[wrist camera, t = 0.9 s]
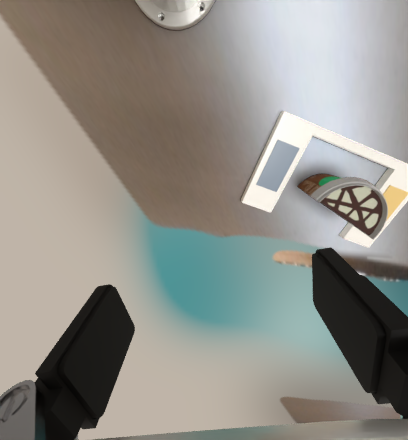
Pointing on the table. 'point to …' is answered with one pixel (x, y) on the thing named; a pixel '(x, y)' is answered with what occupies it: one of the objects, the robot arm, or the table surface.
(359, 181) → the food container
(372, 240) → the label board
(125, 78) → the table surface
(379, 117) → the table surface
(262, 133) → the table surface
